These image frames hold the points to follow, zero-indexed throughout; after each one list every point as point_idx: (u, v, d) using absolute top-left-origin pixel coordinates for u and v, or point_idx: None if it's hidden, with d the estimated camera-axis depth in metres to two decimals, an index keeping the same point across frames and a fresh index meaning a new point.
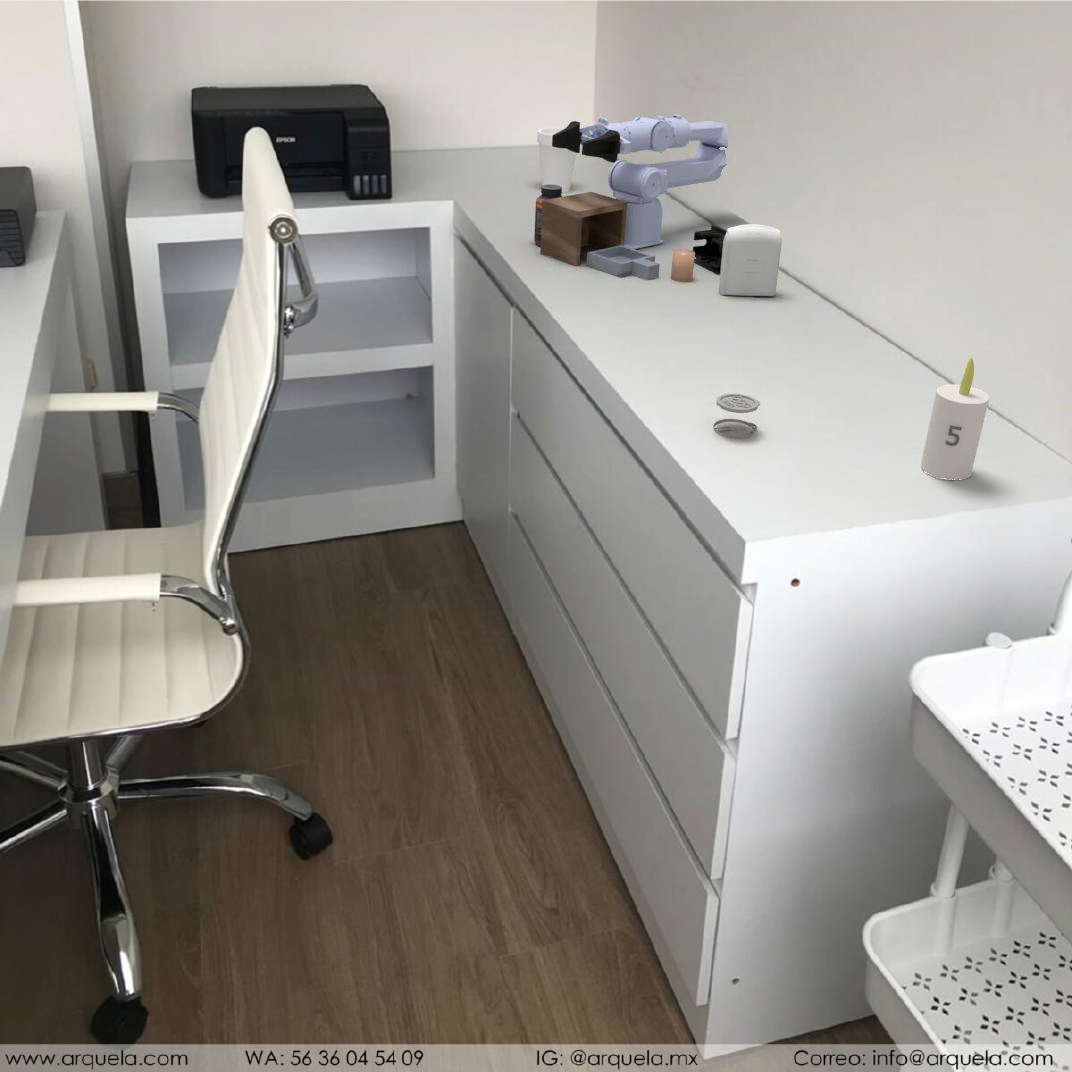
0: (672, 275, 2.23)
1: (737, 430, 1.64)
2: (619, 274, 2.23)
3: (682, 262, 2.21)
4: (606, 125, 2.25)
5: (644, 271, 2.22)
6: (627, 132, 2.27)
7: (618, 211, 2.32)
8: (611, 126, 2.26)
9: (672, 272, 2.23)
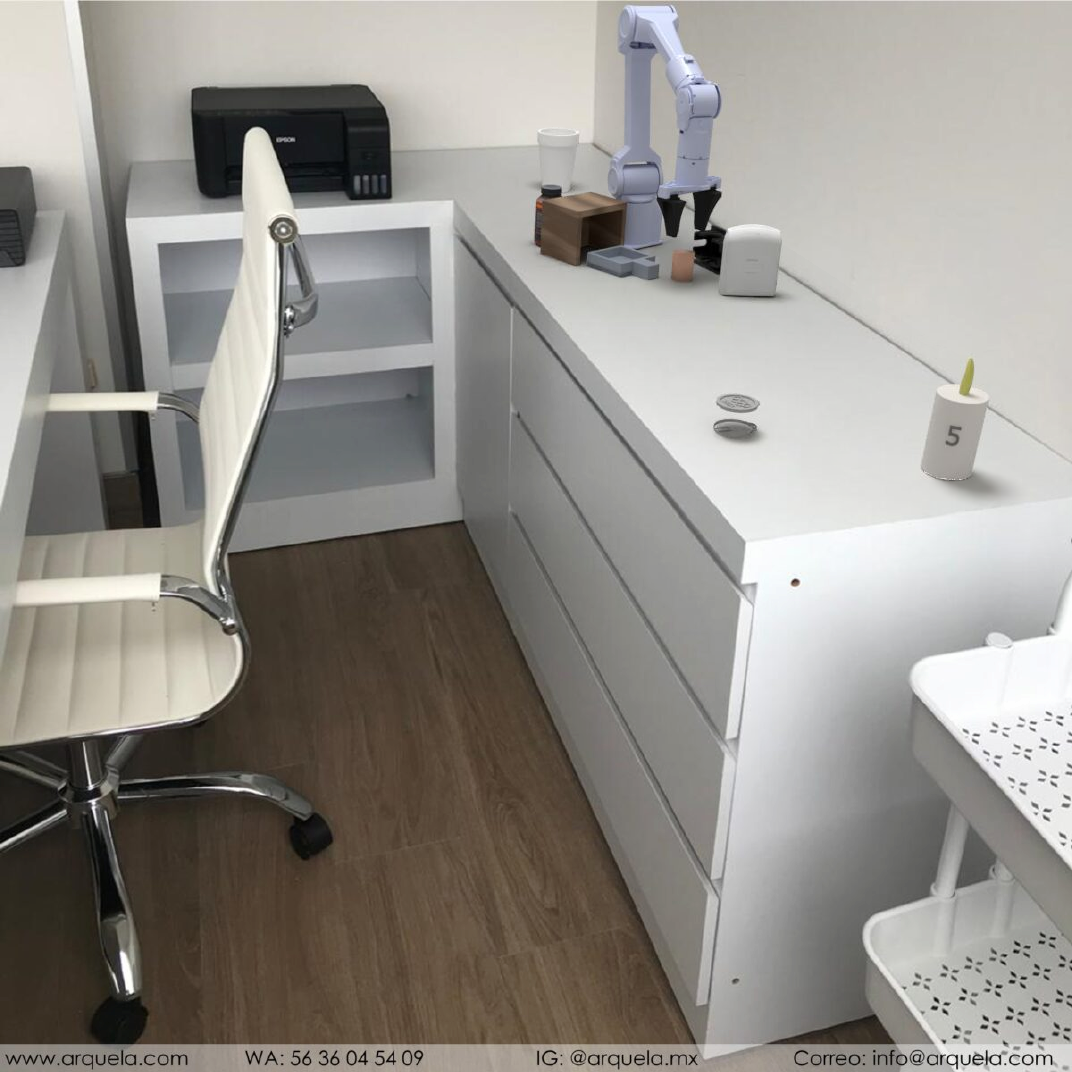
0: (672, 275, 2.23)
1: (737, 430, 1.64)
2: (619, 274, 2.23)
3: (682, 262, 2.21)
4: None
5: (644, 271, 2.22)
6: None
7: (618, 211, 2.32)
8: (706, 178, 2.14)
9: (672, 272, 2.23)
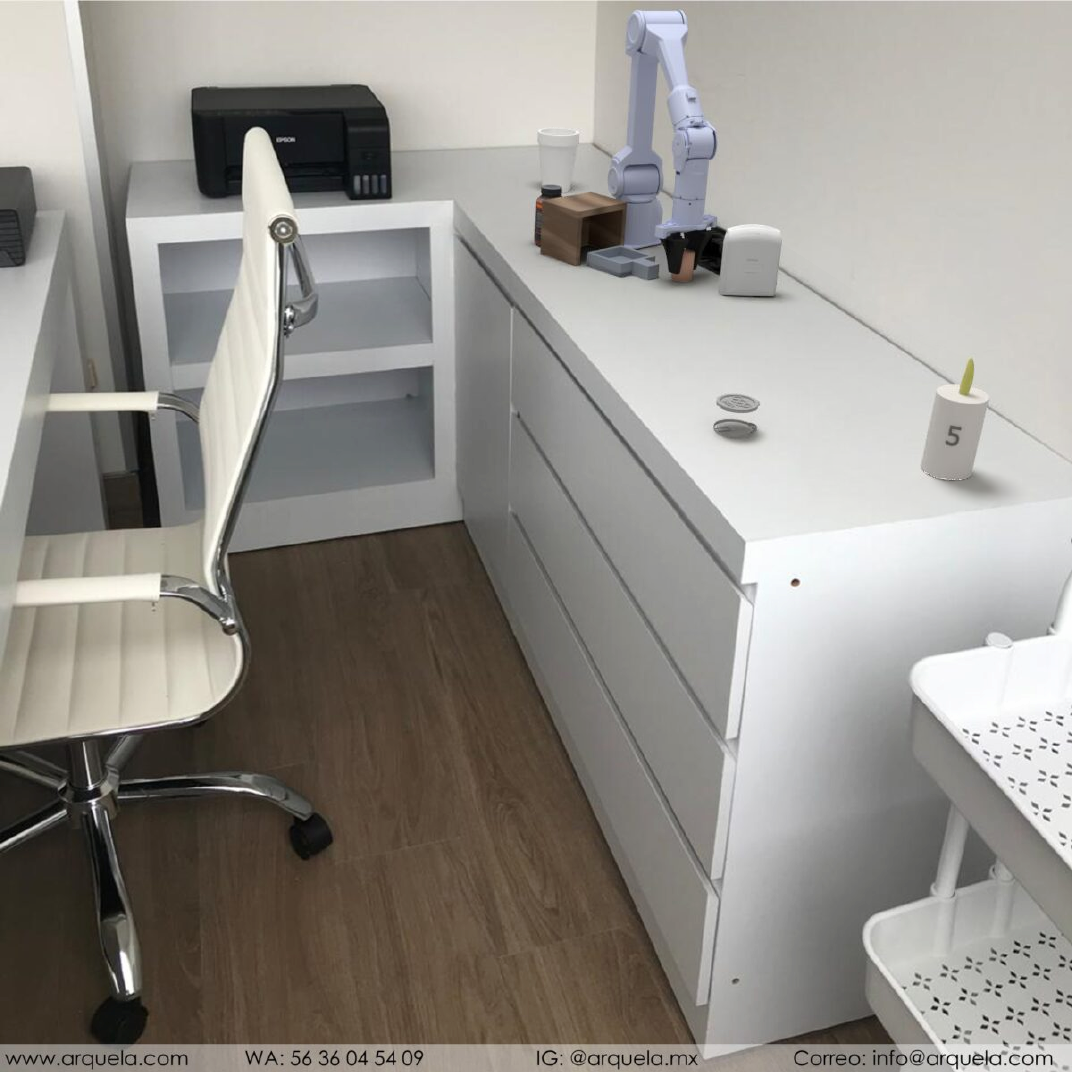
0: (672, 275, 2.23)
1: (737, 430, 1.64)
2: (619, 274, 2.23)
3: (682, 261, 2.21)
4: None
5: (644, 271, 2.22)
6: None
7: (618, 211, 2.32)
8: (702, 218, 2.17)
9: None
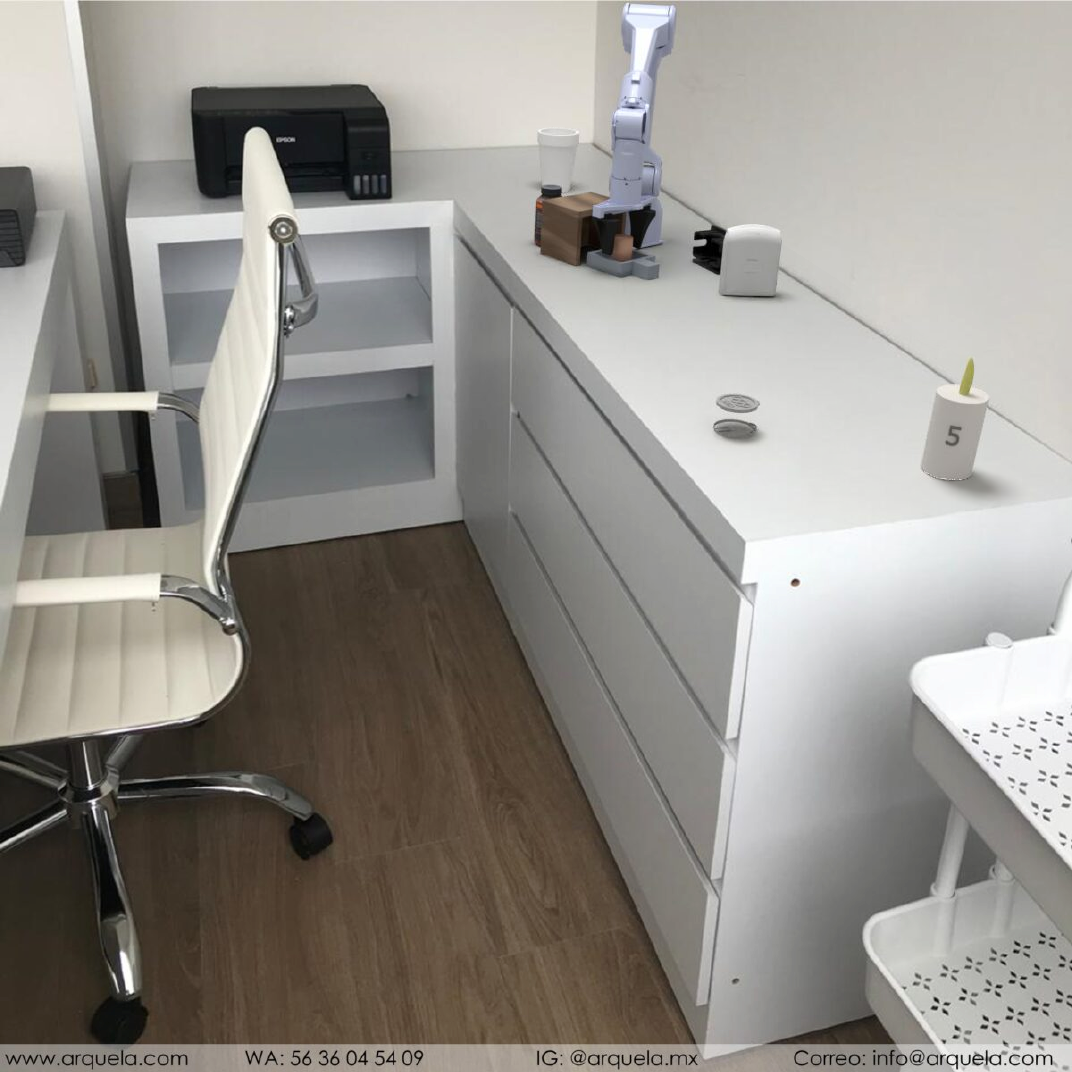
0: None
1: (737, 430, 1.64)
2: (619, 274, 2.23)
3: (621, 246, 2.25)
4: None
5: (644, 271, 2.22)
6: None
7: None
8: (639, 198, 2.21)
9: (611, 257, 2.27)
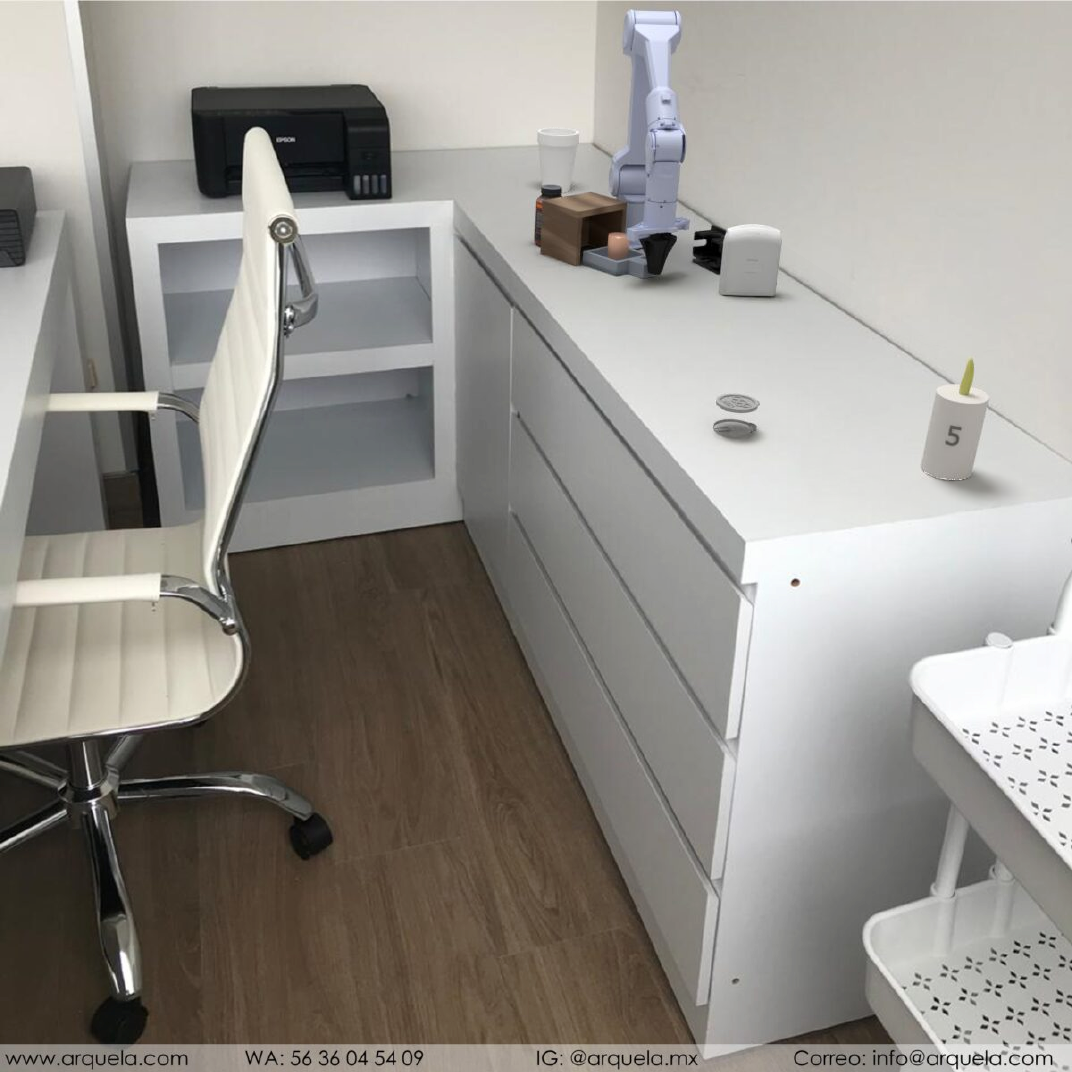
0: None
1: (737, 430, 1.64)
2: (615, 273, 2.24)
3: (618, 245, 2.25)
4: None
5: (640, 269, 2.23)
6: None
7: (618, 211, 2.32)
8: (674, 220, 2.17)
9: (608, 256, 2.27)
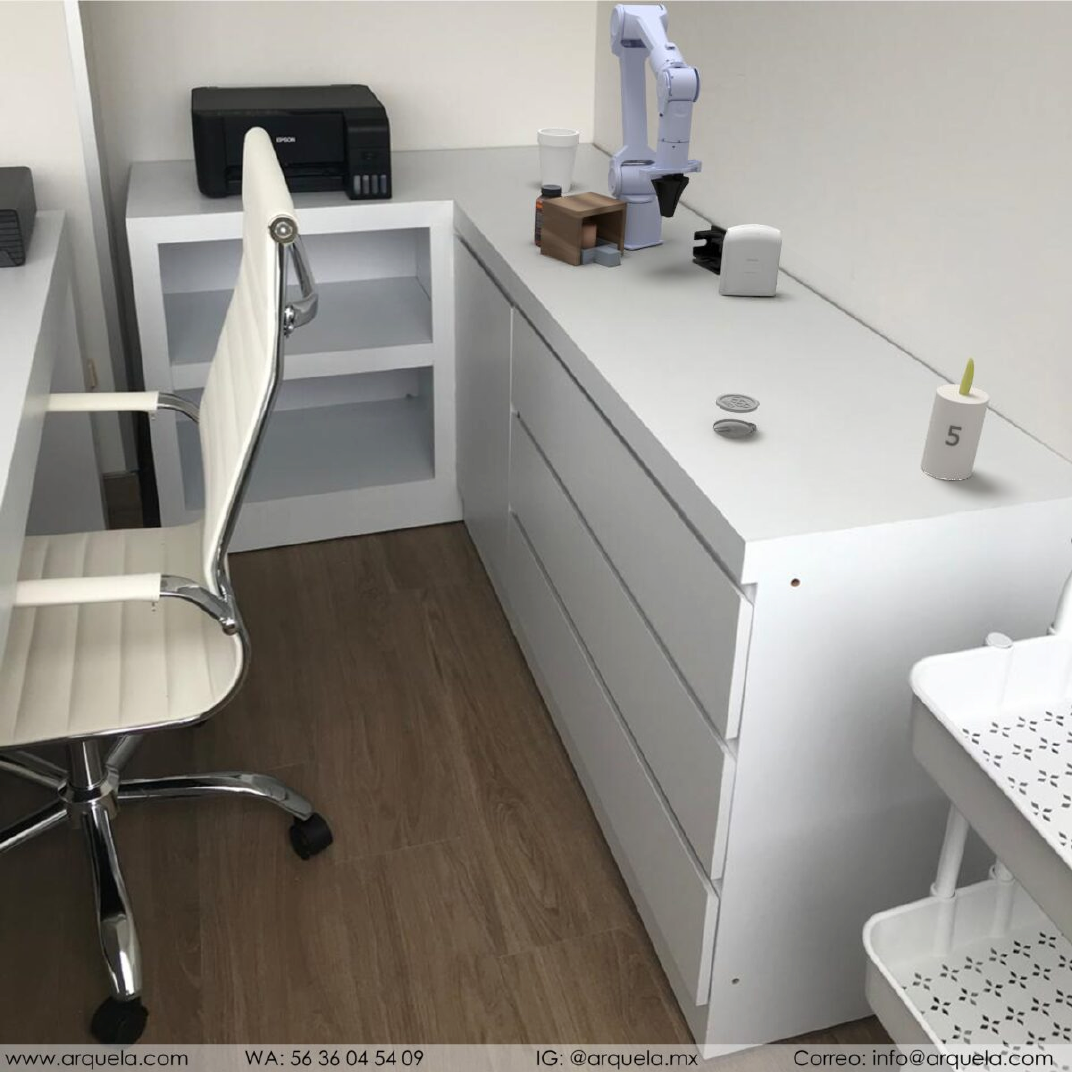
0: None
1: (737, 430, 1.64)
2: (582, 261, 2.30)
3: (585, 235, 2.31)
4: None
5: (606, 258, 2.29)
6: None
7: (618, 211, 2.32)
8: (686, 161, 2.16)
9: None
